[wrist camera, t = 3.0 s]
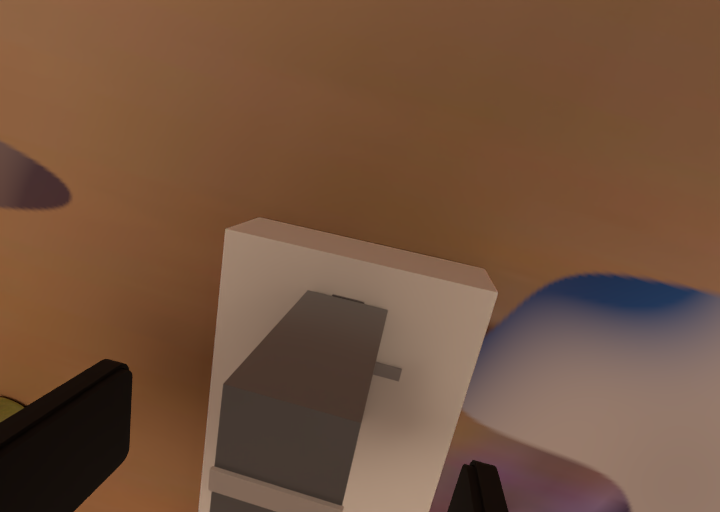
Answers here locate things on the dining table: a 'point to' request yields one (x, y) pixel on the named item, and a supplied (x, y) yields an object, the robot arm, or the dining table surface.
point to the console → (395, 356)
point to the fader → (297, 410)
